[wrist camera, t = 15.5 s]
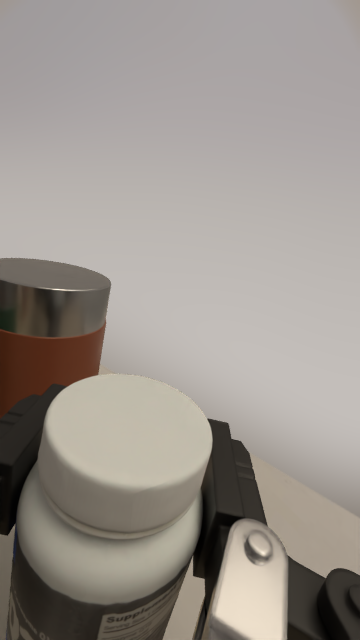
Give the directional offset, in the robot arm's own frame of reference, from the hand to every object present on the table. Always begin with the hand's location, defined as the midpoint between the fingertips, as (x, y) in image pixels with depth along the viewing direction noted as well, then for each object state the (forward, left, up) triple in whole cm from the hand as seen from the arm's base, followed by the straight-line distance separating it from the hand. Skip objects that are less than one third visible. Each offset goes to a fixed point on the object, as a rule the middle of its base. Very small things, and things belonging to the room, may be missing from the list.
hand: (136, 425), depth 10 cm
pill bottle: (0, +3, -6) cm, 7 cm away
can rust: (+7, -7, -9) cm, 14 cm away
